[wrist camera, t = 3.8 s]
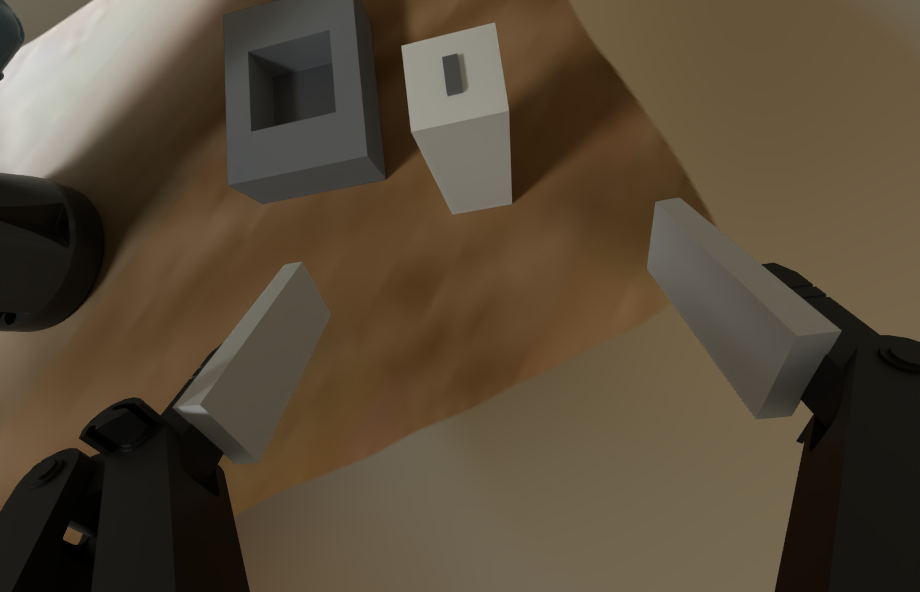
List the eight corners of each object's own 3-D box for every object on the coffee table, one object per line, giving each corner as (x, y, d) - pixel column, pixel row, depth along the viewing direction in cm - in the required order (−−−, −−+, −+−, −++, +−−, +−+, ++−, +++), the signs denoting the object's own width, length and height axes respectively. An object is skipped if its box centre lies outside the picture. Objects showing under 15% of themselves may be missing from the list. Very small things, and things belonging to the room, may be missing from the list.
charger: (512, 204, 29) (508, 106, 17) (452, 214, 30) (409, 128, 18) (503, 147, 30) (494, 17, 18) (445, 159, 31) (399, 41, 19)
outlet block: (386, 179, 31) (367, 156, 27) (262, 203, 33) (228, 185, 29) (370, 21, 34) (351, -22, 30) (255, 51, 35) (223, 15, 31)
